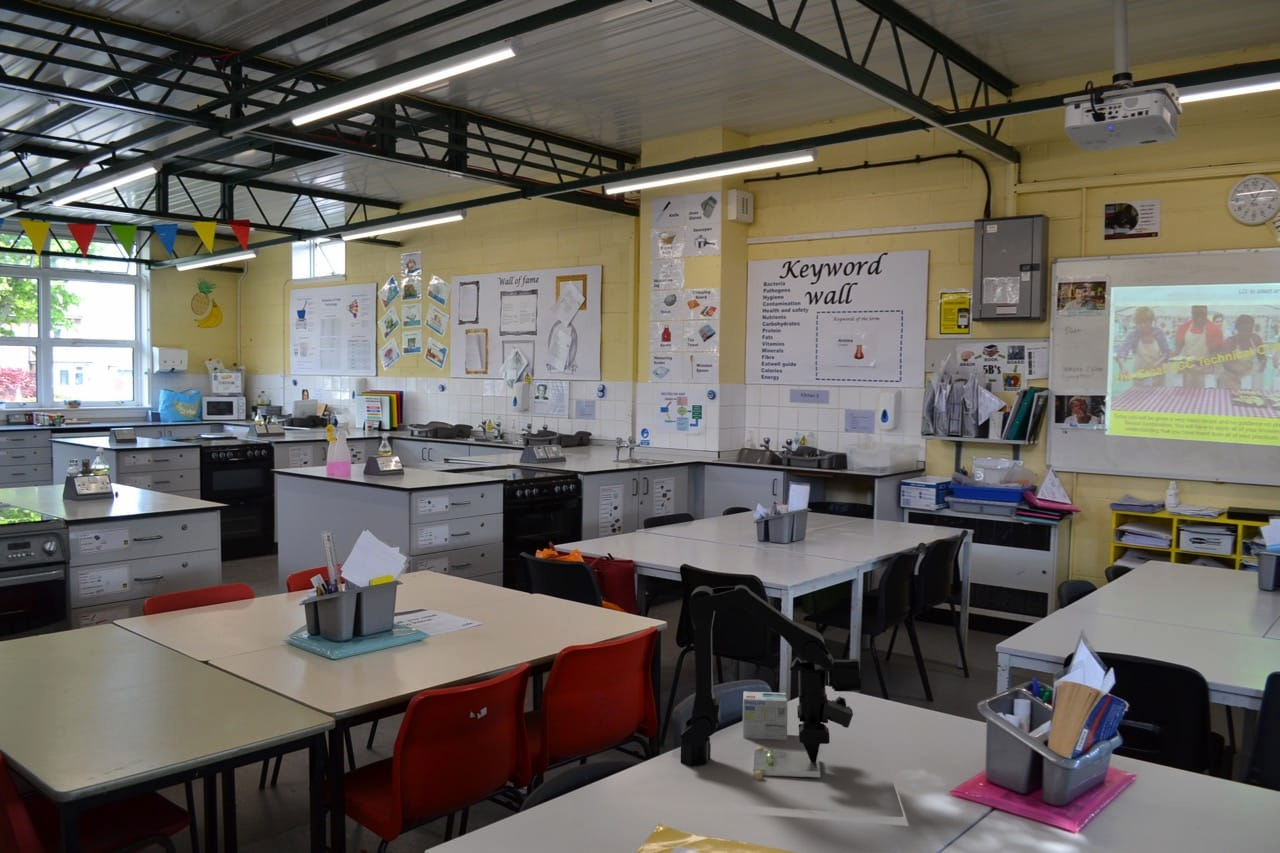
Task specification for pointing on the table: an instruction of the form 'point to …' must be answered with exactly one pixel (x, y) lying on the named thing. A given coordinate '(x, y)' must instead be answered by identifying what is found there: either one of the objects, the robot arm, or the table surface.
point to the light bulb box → (765, 715)
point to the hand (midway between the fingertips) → (813, 761)
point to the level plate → (785, 764)
